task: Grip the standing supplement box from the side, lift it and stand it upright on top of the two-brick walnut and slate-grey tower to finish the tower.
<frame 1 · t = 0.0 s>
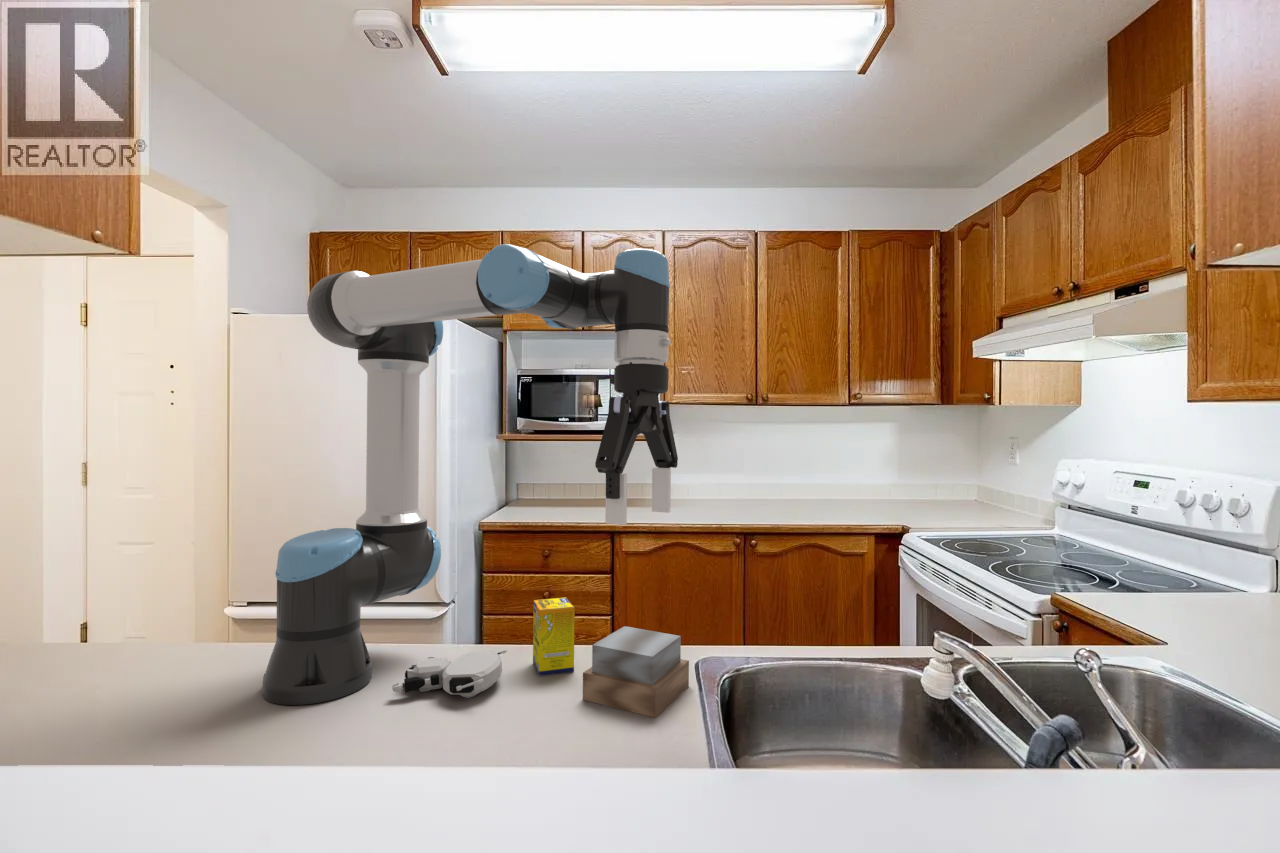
hand: (640, 517, 86), 28 cm above the countertop, tool pointing down, fingers open, 13 cm apart
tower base: (637, 692, 94), on the countertop
robot toy: (452, 690, 96), on the countertop
supplement box: (553, 669, 104), on the countertop
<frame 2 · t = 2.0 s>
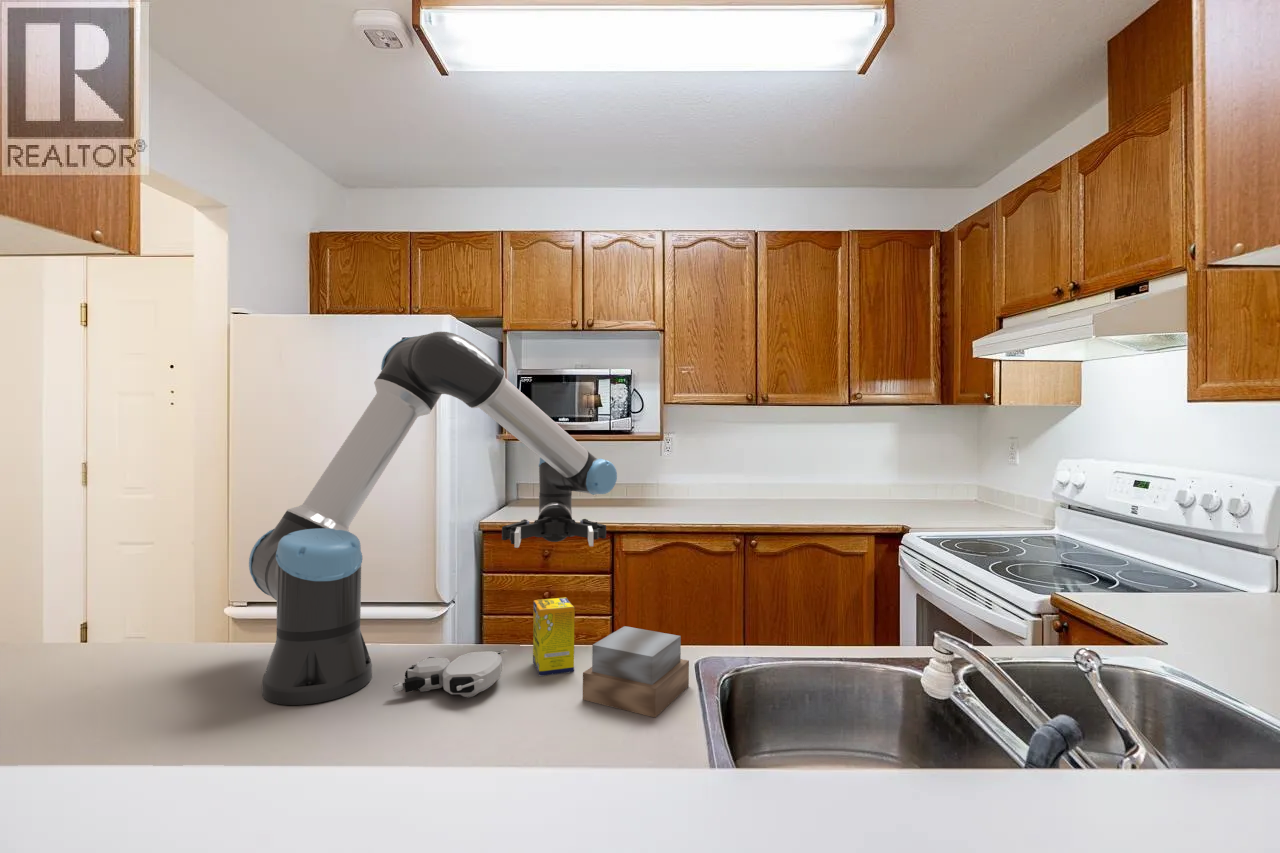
hand: (554, 539, 114), 20 cm above the countertop, tool horizontal, fingers open, 13 cm apart
nothing on the countertop moved.
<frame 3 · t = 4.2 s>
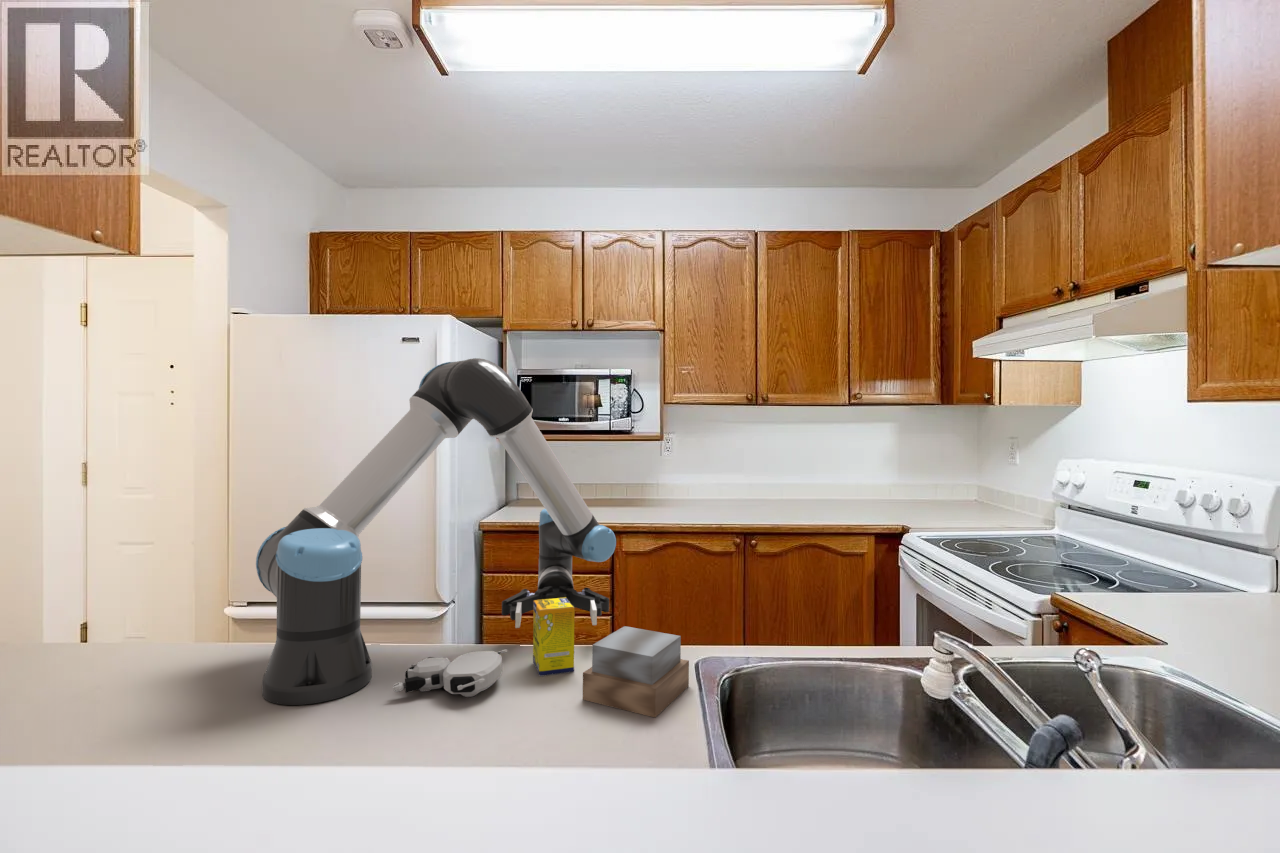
hand: (556, 619, 110), 6 cm above the countertop, tool horizontal, fingers open, 13 cm apart
nothing on the countertop moved.
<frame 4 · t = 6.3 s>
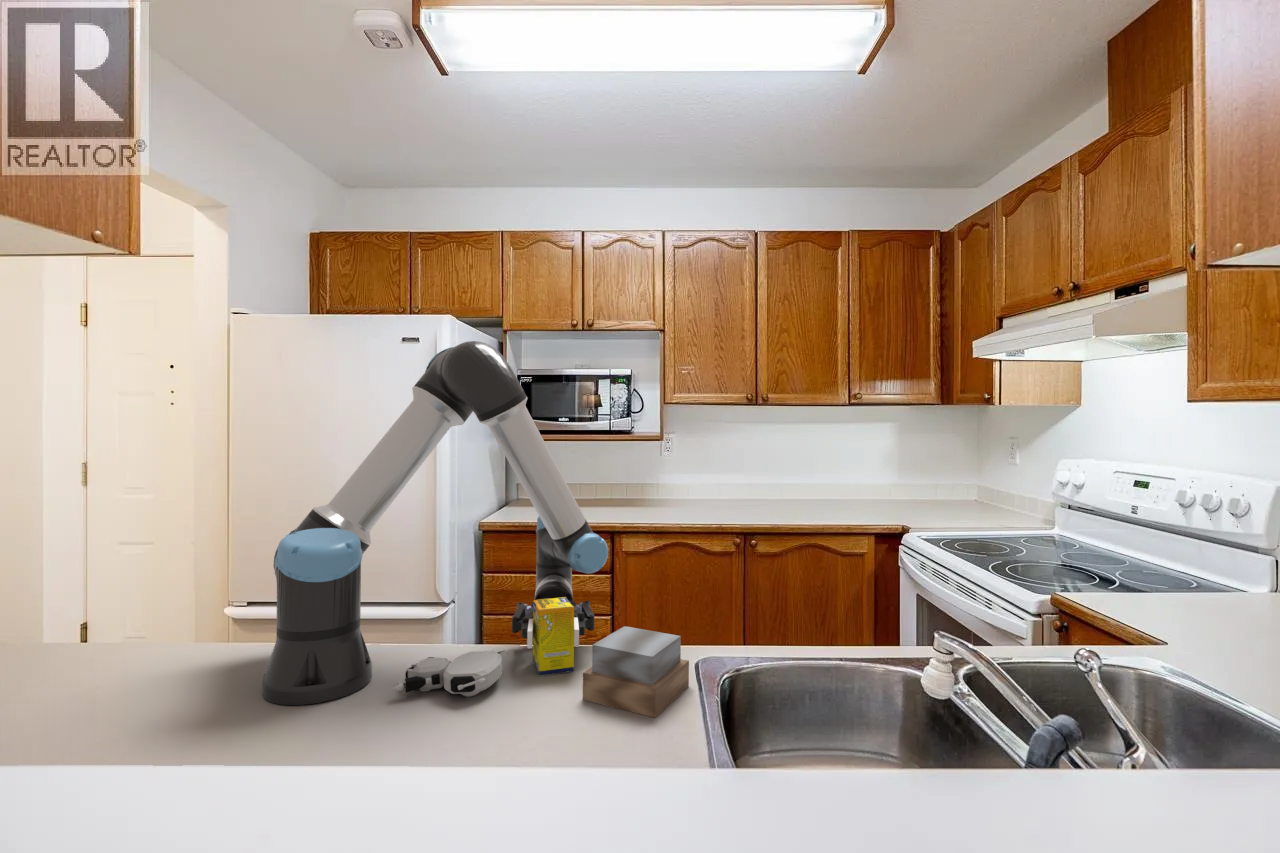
hand: (553, 638, 99), 7 cm above the countertop, tool horizontal, fingers closed on supplement box, 7 cm apart
supplement box: (553, 668, 104), on the countertop, touching gripper
everything else where it was.
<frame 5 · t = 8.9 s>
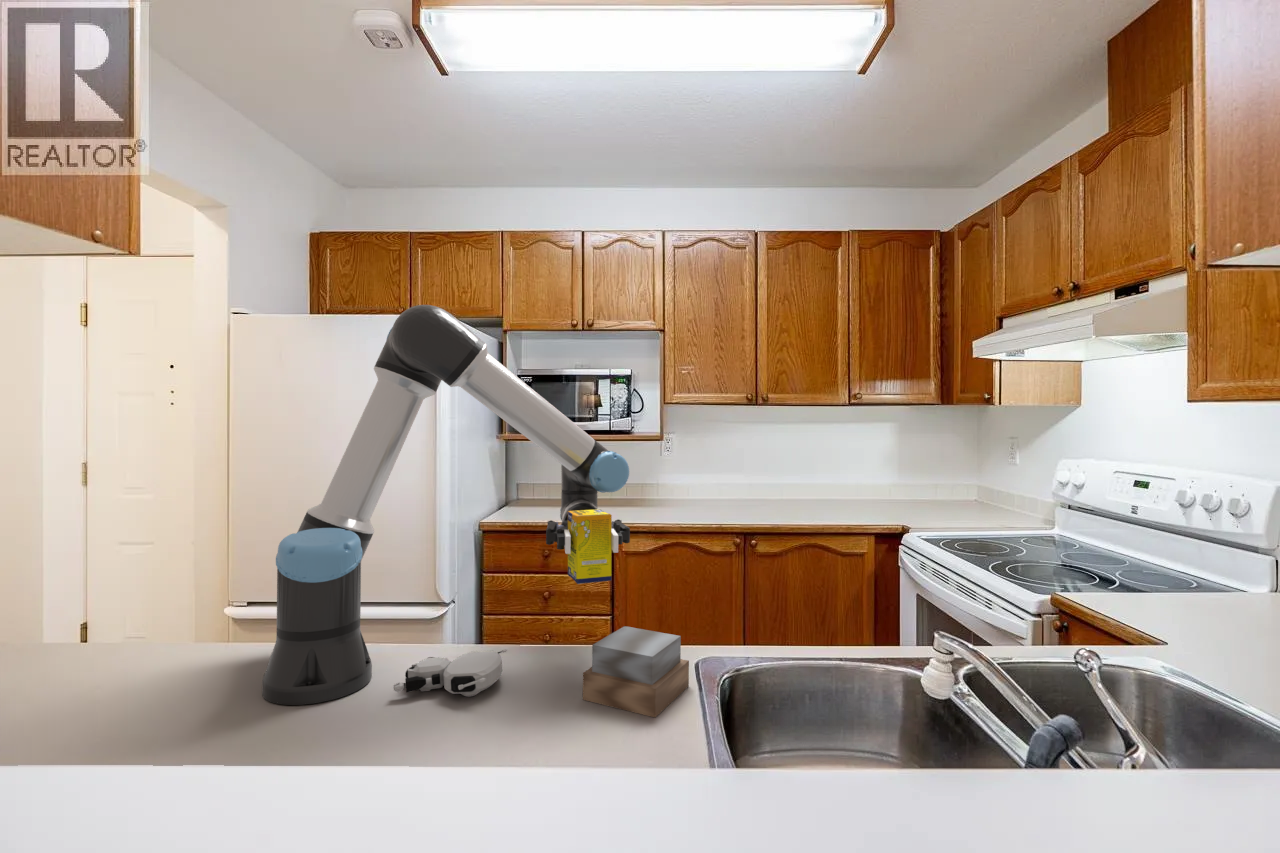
hand: (592, 544, 97), 22 cm above the countertop, tool horizontal, fingers closed on supplement box, 7 cm apart
supplement box: (589, 579, 102), point 15 cm above the countertop, touching gripper
everything else where it was.
when the fingers open (16 cm above the countertop, at t = 11.4 s): supplement box drops 1 cm, resting on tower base.
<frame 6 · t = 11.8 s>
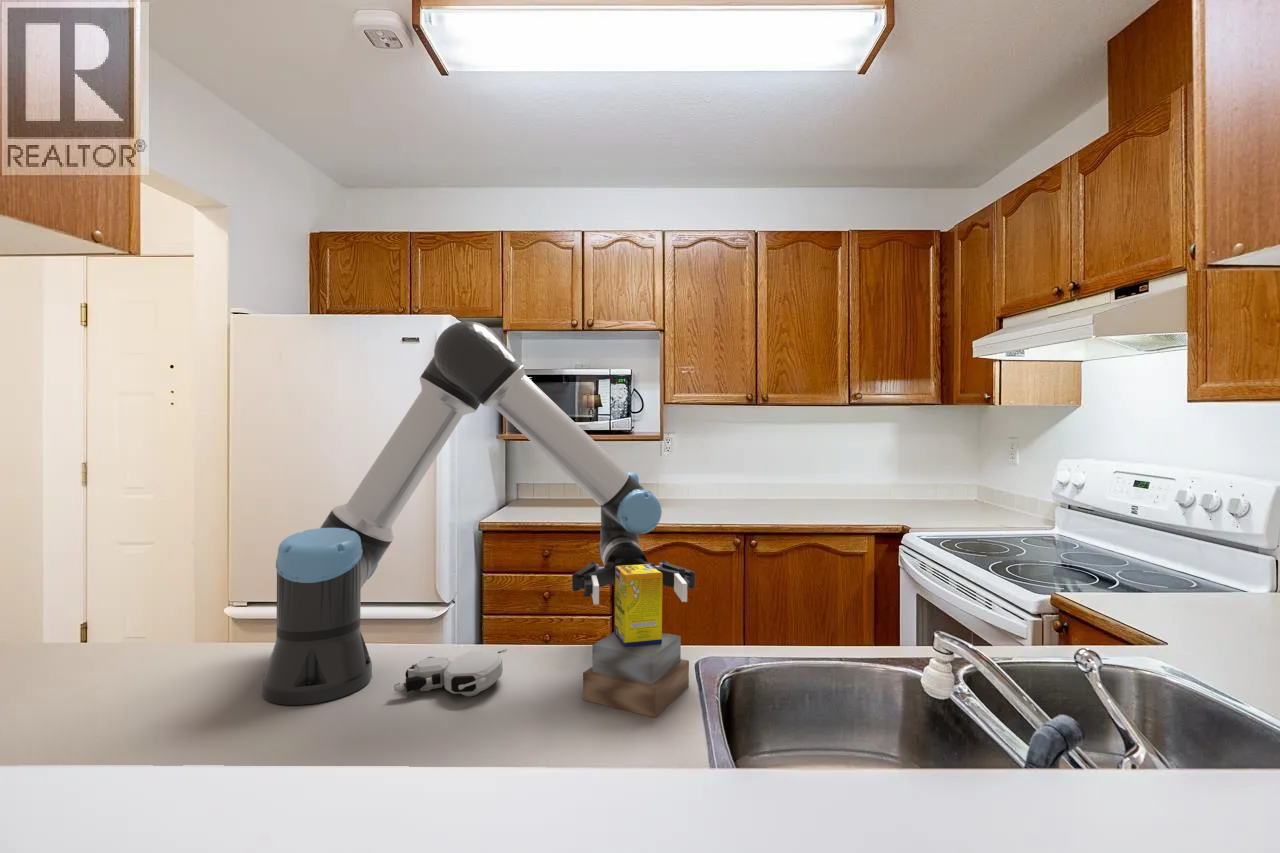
hand: (641, 594, 91), 16 cm above the countertop, tool horizontal, fingers open, 12 cm apart
supplement box: (637, 641, 95), point 8 cm above the countertop, touching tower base
everything else where it was.
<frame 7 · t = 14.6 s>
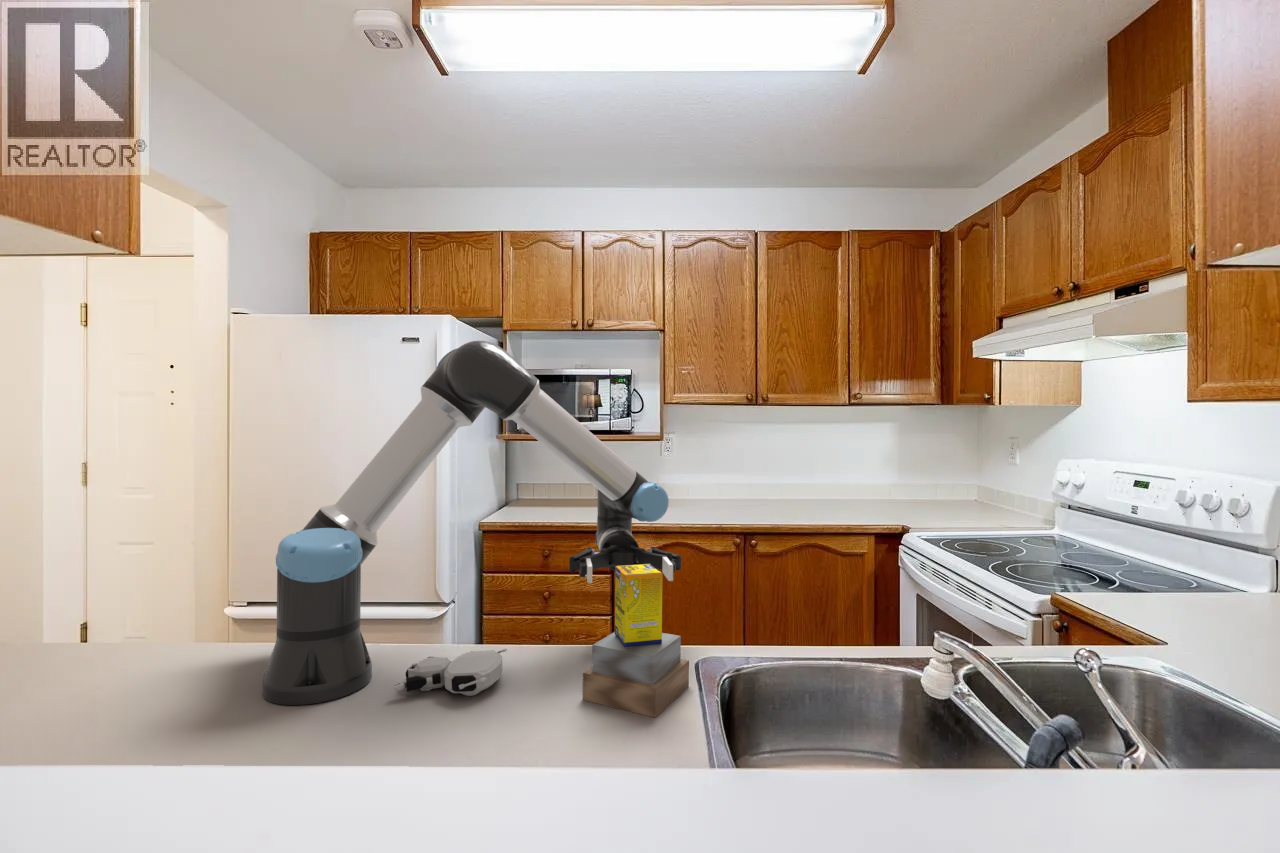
hand: (630, 573, 103), 16 cm above the countertop, tool horizontal, fingers open, 13 cm apart
nothing on the countertop moved.
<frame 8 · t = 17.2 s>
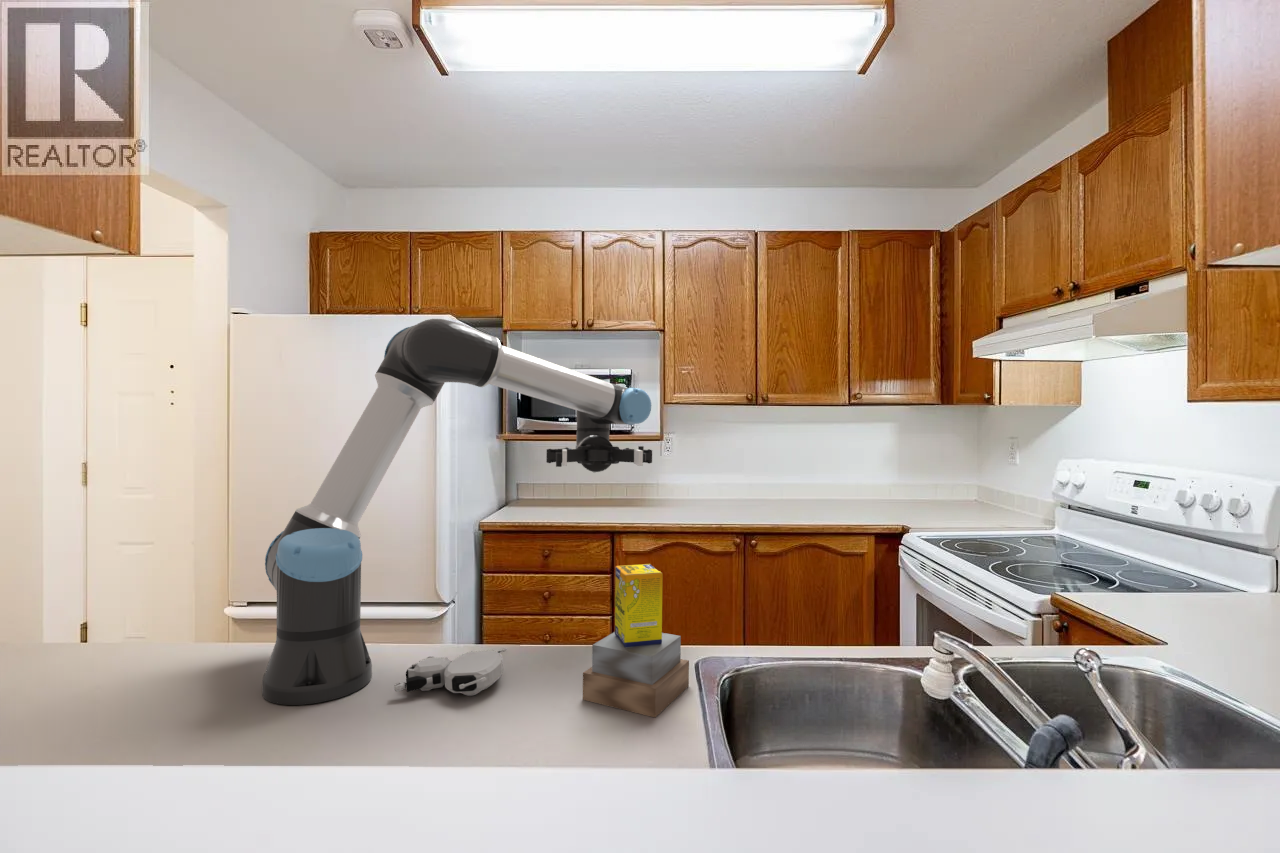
hand: (603, 458, 111), 35 cm above the countertop, tool horizontal, fingers open, 13 cm apart
nothing on the countertop moved.
at the end: supplement box inside the target area on the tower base (0.1 cm from its centre), point 7.8 cm above the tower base's base; supplement box tilted 0°; the gripper is holding nothing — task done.
